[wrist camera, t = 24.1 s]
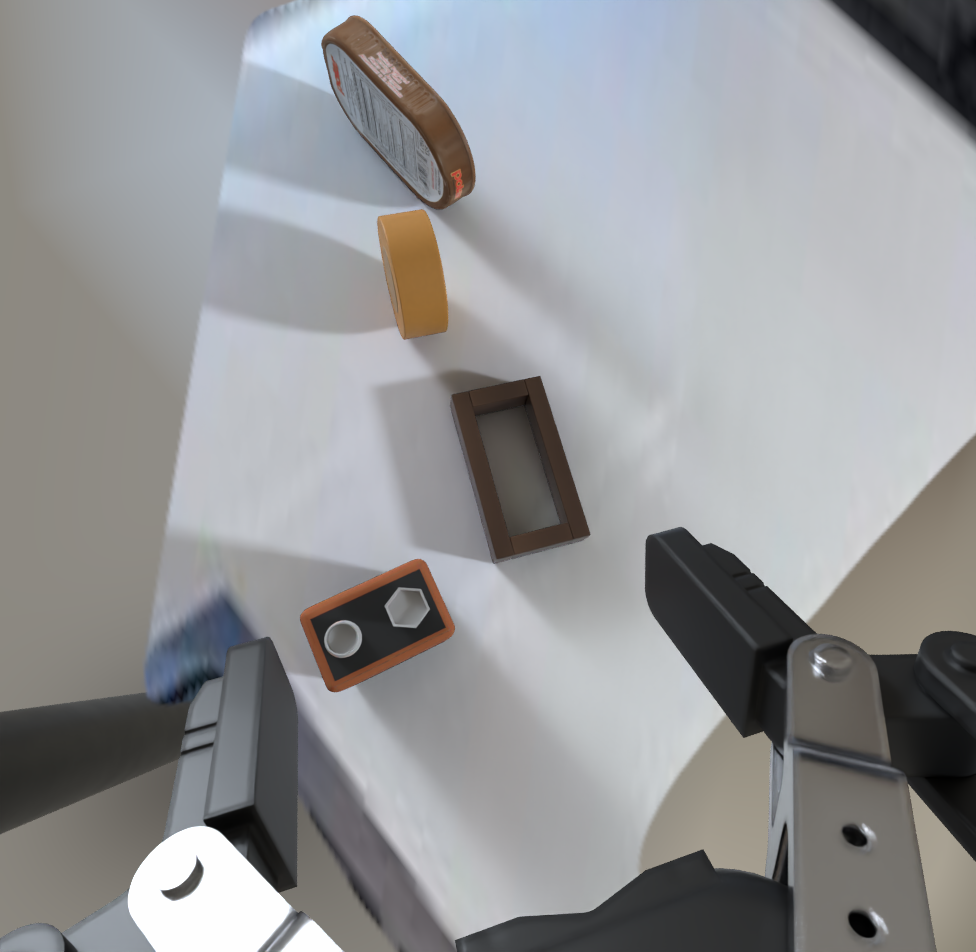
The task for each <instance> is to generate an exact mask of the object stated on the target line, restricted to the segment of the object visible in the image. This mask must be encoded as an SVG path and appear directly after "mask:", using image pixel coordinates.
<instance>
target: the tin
mask: <svg viewBox="0 0 976 952" xmlns="http://www.w3.org/2000/svg"><path fill="white" fill-rule="evenodd" d="M321 45H322V49H323V54H324V59H325V63H326V67H327V70H328V74H329V79H330V84H331V87H332V89H333V91H334V94H335V96H336V98H337V100H338V102H339V104H340V105H341V107H342V109H343V111H344V112H345V114H346V116H347V117H348V119H349V120H350V122H351V123H352V125H353V126H354V127H355V129H356V130H357V131H358V132H359V134H360V135H361V136H362V137H363V138H364V139H365V140H366V141H367V142H368V144H369V145H370V146H371V147H372V148H373V149H374V150H375V151H376V152H377V153H378V155H379V156H380V157H381V158H382V159H383V160H384V161H385V162H386V163H387V164H388V166H389V167H390V168H391V169H392V170H393V171H394V172H395V173H396V174H397V175H398V176H399V177H400V179H401V180H402V181H403V182H404V183H405V184H406V185H407V186H408V187H409V188H410V189H411V190H412V191H413V192H414V193H415V195H416V196H417V197H418V198H419V199H421V200H422V201H423V202H424V203H425V204H427V205H428V206H430V207H432V208H434V209H444V208H446V207H448V206H450V205H452V204H453V203H455V202H456V201H457V200H459V199H460V198H462V197H463V196H467V195H469V194H470V193H471V192H472V190H473V188H474V185H475V166H474V161H473V157H472V154H471V151H470V147H469V145H468V142H467V140H466V137H465V135H464V133H463V131H462V129H461V127H460V125H459V123H458V121H457V119H456V118H455V116H454V115H453V113H452V111H451V110H450V108H449V107H448V106H447V104H446V103H445V102H444V100H443V99H442V98H441V97H440V96H439V95H438V94H437V93H436V92H435V90H434V89H433V88H432V87H431V86H430V85H429V84H428V83H427V82H426V81H425V80H424V79H423V78H422V77H421V76H420V75H419V74H418V73H417V72H416V71H415V70H414V69H413V68H412V67H411V66H410V65H409V64H408V63H407V62H406V61H405V59H404V58H403V57H402V56H401V55H400V54H399V53H398V52H397V51H396V50H395V49H394V48H393V47H392V46H391V45H390V44H389V42H387V41H386V40H385V38H384V37H383V36H382V35H381V34H380V33H379V32H378V31H377V30H376V29H375V28H374V27H373V26H372V25H371V24H370V23H369V22H368V21H366V20H365V19H363V18H361V17H360V16H350V17H349V18H348V19H347V20H346V21H345V22H344V23H342V24H340V25H339V26H337V27H335V28H334V29H332V30H331V31H329V32H328V33H327V34H326V35H325V36H324V37H323V39H322V43H321Z"/></svg>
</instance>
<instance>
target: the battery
mask: <svg viewBox="0 0 976 952" xmlns="http://www.w3.org/2000/svg"><path fill="white" fill-rule="evenodd" d="M300 621H301V624H302V627H303V629H304V632H305V634H306V637H307V639H308V642H309V644H310V647H311V649H312V652H313V654H314V657H315V660H316V662H317V665H318V667H319V670H320V672H321V675H322V677H323V680H324V682H325V685H326V687H327V689H328V690H329V691H331V692H339V691H342V690H345V689H347V688H349V687H351V686H354V685H356V684H358V683H361V682H363V681H365V680H367V679H369V678H371V677H373V676H375V675H377V674H379V673H381V672H383V671H385V670H387V669H389V668H391V667H393V666H395V665H398V664H400V663H402V662H404V661H406V660H408V659H410V658H412V657H414V656H416V655H418V654H420V653H422V652H424V651H426V650H428V649H430V648H432V647H434V646H436V645H438V644H440V643H442V642H444V641H446V640H447V639H449V638H450V637H451V636H452V635H453V633H454V631H455V626H454V623H453V621H452V619H451V617H450V614H449V612H448V610H447V608H446V606H445V603H444V601H443V599H442V597H441V595H440V592H439V590H438V588H437V586H436V583H435V581H434V579H433V577H432V575H431V572H430V570H429V568H428V566H427V564H426V562H425V561H423V560H421V559H415V560H412V561H410V562H408V563H405V564H403V565H401V566H399V567H397V568H394V569H392V570H390V571H388V572H386V573H383V574H381V575H379V576H377V577H375V578H372V579H370V580H368V581H366V582H364V583H361V584H359V585H357V586H355V587H353V588H350V589H348V590H346V591H344V592H342V593H339V594H337V595H335V596H333V597H331V598H329V599H326V600H324V601H322V602H320V603H318V604H315V605H313V606H311V607H309V608H307V609H306V610H304V611H303V612H302V614H301V616H300Z"/></svg>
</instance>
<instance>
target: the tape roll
mask: <svg viewBox="0 0 976 952" xmlns="http://www.w3.org/2000/svg"><path fill="white" fill-rule="evenodd" d="M377 225H378V235H379V242H380V248H381V254H382V260H383V265H384V270H385V275H386V280H387V285H388V289H389V294H390V298H391V302H392V306H393V310H394V314H395V318H396V321H397V325H398V328H399V331H400V334H401V336H402V338H403V339H404V340H405V339H410V338H416V337H421V336H426V335H431V334H436V333H441V332H445V331H446V330H447V328H448V303H447V294H446V286H445V280H444V274H443V268H442V263H441V258H440V254H439V249H438V245H437V241H436V238H435V234H434V231H433V228H432V225H431V222H430V219H429V217H428V215H427V213H426V212H425V211H424V210H422V209H421V210H415V211H409V212H403V213H396V214H390V215H384V216H379V217H378V220H377Z"/></svg>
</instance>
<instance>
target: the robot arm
mask: <svg viewBox="0 0 976 952" xmlns="http://www.w3.org/2000/svg"><path fill="white" fill-rule="evenodd" d="M645 593H646V598H647V602H648V605H649V608H650V610H651V612H652V614H653V616H654V617H655V619H656V620H657V622H658V623H659V624H660V626H661V627H662V628H663V630H664V631H665V632H666V634H667V635H668V636H669V638H670V639H671V640H672V642H673V643H674V644H675V646H676V647H677V649H678V650H679V651H680V653H681V654H682V655H683V657H684V658H685V659H686V661H687V662H688V663H689V665H690V666H691V667H692V669H693V670H694V672H695V673H696V674H697V676H698V677H699V678H700V680H701V681H702V682H703V684H704V685H705V686H706V688H707V689H708V690H709V692H710V693H711V695H712V696H713V697H714V699H715V700H716V701H717V703H718V704H719V705H720V707H721V708H722V709H723V711H724V712H725V713H726V715H727V716H728V717H729V719H730V720H731V722H732V723H733V724H734V725H735V727H736V728H737V730H738V731H739V732H740V734H741V735H742V736H743V738H745V737H748V736H751V735H754V734H757V733H760V732H763V731H764V733H765V734H766V735H767V736H768V738H769V739H770V740H771V741H772V744H771V752H770V787H769V829H768V832H769V833H768V850H767V860H766V870H765V877H764V876H761V875H758V874H755V873H751V872H746V871H741V870H735V869H723V868H716V869H714V868H713V866H712V864H711V862H710V861H709V859H708V857H707V855H706V853H705V852H704V850H700V851H697V852H695V853H692V854H689V855H686V856H684V857H681V858H678V859H675V860H673V861H670V862H667V863H664V864H662V865H659V866H656V867H654V868H651V869H648V870H645V871H644V872H643V873H642V874H640V875H639V876H638V877H636V878H635V879H634V880H632V881H631V882H630V883H628V884H627V885H626V886H625V887H623V888H622V889H621V890H619V891H618V892H617V893H615V894H614V895H613V896H612V897H610V898H609V899H608V900H606V901H605V902H604V903H602V904H601V905H600V906H599V907H597V908H596V909H594V910H592V911H590V912H586V913H574V914H557V915H540V916H524V917H517V918H515V919H512V920H509V921H506V922H504V923H501V924H498V925H496V926H493V927H490V928H487V929H485V930H482V931H479V932H476V933H474V934H471V935H468V936H466V937H463V938H460V939H457V940H455V943H456V948H457V952H937V951H936V945H935V939H934V933H933V928H932V922H931V916H930V910H929V904H928V899H927V893H926V887H925V881H924V875H923V869H922V863H921V857H920V852H919V846H918V840H917V834H916V829H915V824H914V817H913V811H912V805H911V799H910V793H909V787H908V784H909V785H910V786H911V788H912V789H913V790H914V791H915V792H916V793H917V794H918V796H919V797H920V798H921V799H922V800H923V801H924V803H925V804H926V805H927V806H928V807H929V808H930V809H931V811H932V812H933V813H934V814H935V815H936V816H937V818H938V819H939V820H940V821H941V822H942V823H943V824H944V826H945V827H946V828H947V829H948V830H949V831H950V833H951V834H952V835H953V836H954V837H955V838H956V840H957V841H958V842H959V843H960V844H961V845H962V846H963V848H964V849H965V850H966V851H967V852H968V853H969V854H970V856H971V857H972V858H973V859H974V860H975V861H976V636H975V635H972V634H968V633H963V632H957V631H941V632H936V633H933V634H930V635H929V636H927V637H926V638H925V639H924V640H923V642H922V643H921V646H920V649H919V652H918V654H904V655H902V654H901V655H868V654H867V653H866V652H865V651H864V650H863V649H861V648H860V647H859V646H857V645H855V644H854V643H852V642H850V641H847V640H845V639H842V638H840V637H837V636H832V635H825V634H817V633H816V632H814V631H813V630H812V629H811V628H810V627H809V626H808V625H807V624H806V623H805V622H804V621H803V620H802V619H801V618H800V617H799V616H798V615H797V614H796V613H795V612H794V611H793V610H792V609H790V608H789V607H788V606H787V605H786V604H785V603H784V602H783V601H782V600H781V599H780V598H779V597H778V596H777V595H776V594H775V593H774V592H773V591H772V590H771V589H770V588H769V587H767V586H764V583H763V582H762V581H761V580H760V579H759V578H758V577H757V576H756V575H755V574H754V573H751V572H750V569H749V568H748V567H747V566H746V565H745V564H743V563H742V562H741V561H740V560H739V559H738V558H737V557H736V556H735V555H734V554H732V553H730V552H728V551H726V550H724V549H722V548H720V547H718V546H716V545H714V544H712V543H710V544H706V545H703V546H702V545H701V544H700V543H699V542H698V541H697V540H696V539H695V538H694V537H693V536H692V535H691V534H690V533H689V532H688V531H687V530H686V529H685V528H683V527H678V528H674V529H671V530H667V531H663V532H660V533H656V534H652V535H649V536H648V537H647V539H646V554H645ZM297 795H298V714H297V707H296V702H295V697H294V693H293V690H292V688H291V685H290V683H289V680H288V678H287V675H286V673H285V670H284V668H283V666H282V663H281V661H280V658H279V656H278V653H277V651H276V649H275V646H274V644H273V642H272V640H271V639H270V637H265V638H261V639H258V640H254V641H250V642H246V643H243V644H239V645H235V646H232V647H229V649H228V651H227V656H226V663H225V669H224V676H223V677H220V678H217V679H213V680H210V681H206V682H205V683H204V684H203V686H202V687H201V689H200V691H199V692H198V694H197V695H196V697H195V698H194V700H193V702H192V703H191V705H190V706H189V711H188V716H187V721H186V726H185V736H184V737H183V742H182V747H181V757H179V762H178V767H177V772H176V777H175V782H174V788H173V792H172V798H171V802H170V808H169V813H168V818H167V823H166V828H165V833H164V837H163V840H162V843H161V844H160V845H159V846H157V847H156V848H155V849H154V850H153V851H152V852H151V853H150V854H149V856H148V857H147V858H146V859H145V861H144V862H143V863H142V865H141V866H140V867H139V869H138V871H137V873H136V875H135V877H134V878H133V881H132V884H131V887H130V888H129V889H128V890H127V891H125V892H124V893H123V894H122V895H121V896H119V897H118V898H116V899H115V900H113V901H112V902H110V903H109V904H107V905H105V906H104V907H102V908H101V909H99V910H98V911H96V912H94V913H93V914H91V915H90V916H88V917H87V918H85V919H83V920H82V921H80V922H78V923H77V924H75V925H74V926H72V927H71V928H69V929H67V930H66V931H64V932H63V933H61V932H60V931H59V930H58V929H57V928H55V927H54V926H52V925H49V924H45V923H36V924H30V925H26V926H23V927H20V928H18V929H16V930H14V931H12V932H10V933H8V934H6V935H5V936H3V937H1V938H0V952H343V951H342V950H341V949H340V948H339V947H338V946H337V945H336V944H335V943H334V942H333V941H332V940H331V938H330V937H329V936H328V935H327V934H326V933H325V932H324V931H323V930H322V929H321V928H320V927H319V926H318V925H317V924H316V923H315V922H314V921H313V920H312V919H311V918H310V917H309V916H307V915H306V914H305V913H304V912H302V911H300V912H299V913H297V912H296V911H295V910H294V909H293V908H292V907H291V906H290V905H289V904H288V903H287V902H286V901H285V900H284V899H283V898H282V897H281V896H280V895H279V894H278V893H279V892H282V891H285V890H288V889H291V888H294V887H297Z"/></svg>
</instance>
